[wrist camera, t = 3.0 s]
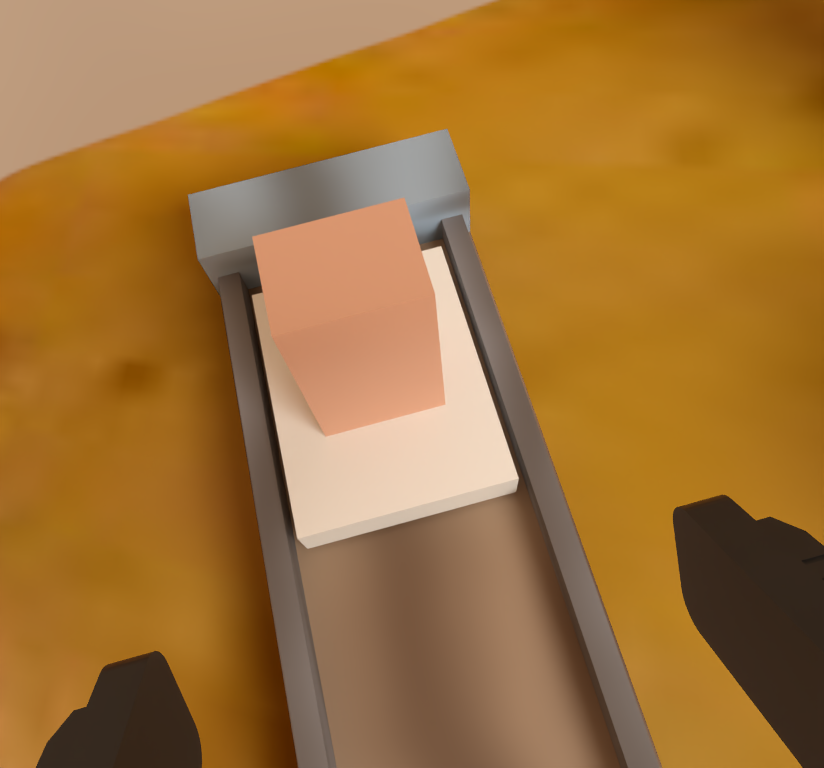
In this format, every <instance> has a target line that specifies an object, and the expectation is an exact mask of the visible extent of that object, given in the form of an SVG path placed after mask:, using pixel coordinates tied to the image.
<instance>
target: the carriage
mask: <svg viewBox="0 0 824 768" xmlns="http://www.w3.org/2000/svg"><path fill="white" fill-rule="evenodd" d="M252 239H253V244H254V249H255V254H256V259H257V264H258V270H259V275H260V280H261V285H262V290H263V293H259V294H255V295H252V299H253V304H254V310H255V315H256V321H257V326H258V331H259V337H260V342H261V347H262V353H263V358H264V363H265V369H266V374H267V379H268V385H269V390H270V395H271V401H272V406H273V411H274V417H275V422H276V428H277V433H278V438H279V444H280V449H281V454H282V460H283V465H284V470H285V476H286V481H287V486H288V492H289V497H290V502H291V508H292V513H293V518H294V524H295V529H296V535H297V539H298V540H299V541H300V542H301V543H302V544H303V545H304V546H305V547H306V548H307V549H309V548H313V547H317V546H320V545H324V544H328V543H331V542H335V541H339V540H342V539H346V538H350V537H353V536H357V535H361V534H364V533H368V532H372V531H375V530H379V529H383V528H386V527H390V526H394V525H397V524H401V523H405V522H408V521H412V520H416V519H419V518H423V517H427V516H430V515H434V514H438V513H441V512H445V511H449V510H452V509H456V508H459V507H463V506H467V505H470V504H474V503H478V502H481V501H485V500H489V499H492V498H496V497H500V496H503V495H507V494H511V493H514V492H516V490H517V485H518V480H519V478H518V475H517V472H516V469H515V466H514V463H513V460H512V457H511V454H510V451H509V448H508V445H507V442H506V439H505V436H504V433H503V430H502V427H501V424H500V421H499V418H498V415H497V412H496V409H495V406H494V403H493V400H492V397H491V394H490V391H489V388H488V385H487V382H486V379H485V376H484V373H483V370H482V367H481V364H480V361H479V358H478V355H477V352H476V349H475V346H474V343H473V340H472V337H471V334H470V331H469V328H468V325H467V322H466V319H465V316H464V313H463V310H462V307H461V304H460V301H459V298H458V295H457V292H456V289H455V286H454V283H453V280H452V277H451V274H450V271H449V268H448V265H447V262H446V259H445V256H444V253H443V250H442V247H441V246H440V247H436V248H432V249H428V250H424V251H421V248H420V245H419V242H418V239H417V235H416V232H415V229H414V226H413V223H412V220H411V217H410V213H409V210H408V207H407V204H406V201H405V198H400V199H396V200H393V201H389V202H385V203H381V204H377V205H373V206H369V207H365V208H361V209H358V210H354V211H350V212H346V213H342V214H338V215H334V216H330V217H327V218H323V219H319V220H315V221H311V222H307V223H303V224H299V225H295V226H292V227H288V228H284V229H280V230H276V231H272V232H268V233H264V234H261V235H257V236H253V237H252Z"/></svg>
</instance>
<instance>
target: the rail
mask: <svg viewBox="0 0 824 768" xmlns="http://www.w3.org/2000/svg"><path fill="white" fill-rule="evenodd" d="M400 198H405V201H406V204H407V207H408V210H409V213H410V217H411V220H412V223H413V226H414V229H415V232H416V235H417V239H418V242H419V245H420V248H421V251H424V250H428V249H432V248H436V247H440V246H441V247H442V250H443V253H444V256H445V259H446V262H447V265H448V268H449V271H450V274H451V277H452V280H453V283H454V286H455V289H456V292H457V295H458V298H459V301H460V304H461V307H462V310H463V313H464V316H465V319H466V322H467V325H468V328H469V331H470V334H471V337H472V340H473V343H474V346H475V349H476V352H477V355H478V358H479V361H480V364H481V367H482V370H483V373H484V376H485V379H486V382H487V385H488V388H489V391H490V394H491V397H492V400H493V403H494V406H495V409H496V412H497V415H498V418H499V421H500V424H501V427H502V430H503V433H504V436H505V439H506V442H507V445H508V448H509V451H510V454H511V457H512V460H513V463H514V466H515V469H516V472H517V475H518V478H519V480H518V485H517V490H516V492H514V493H511V494H507V495H503V496H500V497H496V498H492V499H489V500H485V501H481V502H478V503H474V504H470V505H467V506H463V507H459V508H456V509H452V510H449V511H445V512H441V513H438V514H434V515H430V516H427V517H423V518H419V519H416V520H412V521H408V522H405V523H401V524H397V525H394V526H390V527H386V528H383V529H379V530H375V531H372V532H368V533H364V534H361V535H357V536H353V537H350V538H346V539H342V540H339V541H335V542H331V543H328V544H324V545H320V546H317V547H313V548H309V549H307V548H306V547H305V546H304V545H303V544H302V543H301V542H300V541H299V540H298V539H297V535H296V529H295V524H294V518H293V513H292V508H291V502H290V497H289V492H288V486H287V481H286V476H285V470H284V465H283V460H282V454H281V449H280V444H279V438H278V433H277V428H276V422H275V417H274V411H273V406H272V401H271V395H270V390H269V385H268V379H267V374H266V369H265V363H264V358H263V353H262V347H261V342H260V337H259V331H258V326H257V321H256V315H255V310H254V304H253V299H252V295H255V294H259V293H263V290H262V285H261V280H260V275H259V270H258V264H257V259H256V254H255V249H254V244H253V239H252V237H253V236H257V235H261V234H264V233H268V232H272V231H276V230H280V229H284V228H288V227H292V226H295V225H299V224H303V223H307V222H311V221H315V220H319V219H323V218H327V217H330V216H334V215H338V214H342V213H346V212H350V211H354V210H358V209H361V208H365V207H369V206H373V205H377V204H381V203H385V202H389V201H393V200H396V199H400ZM188 199H189V205H190V212H191V218H192V225H193V232H194V238H195V245H196V251H197V258H198V261H199V262H200V264H201V266H202V267H203V269H204V271H205V272H206V274H207V275H208V277H209V279H210V280H211V282H212V284H213V285H214V287H215V288H216V290H217V292H218V293H219V295H220V297H221V303H222V309H223V315H224V321H225V327H226V334H227V340H228V346H229V352H230V358H231V364H232V370H233V376H234V382H235V388H236V394H237V400H238V407H239V413H240V419H241V425H242V431H243V437H244V443H245V449H246V455H247V461H248V467H249V473H250V479H251V486H252V492H253V498H254V504H255V510H256V516H257V522H258V528H259V534H260V540H261V546H262V552H263V558H264V565H265V571H266V577H267V583H268V589H269V595H270V601H271V607H272V613H273V619H274V625H275V631H276V638H277V644H278V650H279V656H280V662H281V668H282V674H283V680H284V686H285V692H286V698H287V704H288V710H289V717H290V723H291V729H292V735H293V741H294V747H295V753H296V759H297V765H298V768H662V766H661V763H660V760H659V758H658V755H657V752H656V749H655V746H654V744H653V741H652V738H651V735H650V732H649V730H648V727H647V724H646V721H645V718H644V716H643V713H642V710H641V707H640V705H639V702H638V699H637V696H636V693H635V691H634V688H633V685H632V682H631V679H630V677H629V674H628V671H627V668H626V665H625V663H624V660H623V657H622V654H621V652H620V649H619V646H618V643H617V640H616V638H615V635H614V632H613V629H612V626H611V624H610V621H609V618H608V615H607V612H606V610H605V607H604V604H603V601H602V599H601V596H600V593H599V590H598V587H597V585H596V582H595V579H594V576H593V573H592V571H591V568H590V565H589V562H588V559H587V557H586V554H585V551H584V548H583V546H582V543H581V540H580V537H579V534H578V532H577V529H576V526H575V523H574V520H573V518H572V515H571V512H570V509H569V506H568V504H567V501H566V498H565V495H564V493H563V490H562V487H561V484H560V481H559V479H558V476H557V473H556V470H555V467H554V465H553V462H552V459H551V456H550V453H549V451H548V448H547V445H546V442H545V440H544V437H543V434H542V431H541V428H540V426H539V423H538V420H537V417H536V414H535V412H534V409H533V406H532V403H531V400H530V398H529V395H528V392H527V389H526V386H525V384H524V381H523V378H522V375H521V373H520V370H519V367H518V364H517V361H516V359H515V356H514V353H513V350H512V347H511V345H510V342H509V339H508V336H507V333H506V331H505V328H504V325H503V322H502V320H501V317H500V314H499V311H498V308H497V306H496V303H495V300H494V297H493V294H492V292H491V289H490V286H489V283H488V280H487V278H486V275H485V272H484V269H483V267H482V264H481V261H480V258H479V255H478V253H477V250H476V247H475V244H474V241H473V239H472V236H471V233H470V189H469V187H468V184H467V181H466V178H465V176H464V173H463V170H462V168H461V165H460V162H459V159H458V157H457V154H456V151H455V149H454V146H453V143H452V141H451V138H450V135H449V132H448V130H447V129H445V130H441V131H437V132H433V133H429V134H425V135H421V136H417V137H413V138H409V139H405V140H401V141H397V142H394V143H390V144H386V145H382V146H378V147H374V148H370V149H366V150H362V151H358V152H354V153H350V154H346V155H343V156H339V157H335V158H331V159H327V160H323V161H319V162H315V163H311V164H307V165H303V166H299V167H295V168H292V169H288V170H284V171H280V172H276V173H272V174H268V175H264V176H260V177H256V178H252V179H248V180H244V181H241V182H237V183H233V184H229V185H225V186H221V187H217V188H213V189H209V190H205V191H201V192H197V193H193V194H189V195H188Z"/></svg>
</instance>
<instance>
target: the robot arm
mask: <svg viewBox="0 0 824 768" xmlns="http://www.w3.org/2000/svg"><path fill="white" fill-rule="evenodd" d="M673 524H674V532H675V540H676V548H677V556H678V564H679V572H680V580H681V587H682V593H683V597H684V601H685V604H686V607H687V609H688V612H689V614H690V616H691V619H692V621H693V623H694V624H695V626H696V628H697V629H698V631H699V632H700V634H701V635H702V636H703V638H704V639H705V640H706V642H707V643H708V644H709V645H710V647H711V648H712V649H713V651H714V652H715V653H716V655H717V656H718V657H719V658H720V660H721V661H722V662H723V664H724V665H725V666H726V668H727V669H728V670H729V672H730V673H731V674H732V675H733V677H734V678H735V679H736V681H737V682H738V683H739V685H740V686H741V687H742V689H743V690H744V691H745V692H746V694H747V695H748V696H749V698H750V699H751V700H752V702H753V703H754V704H755V706H756V707H757V708H758V709H759V711H760V712H761V713H762V715H763V716H764V717H765V719H766V720H767V721H768V723H769V724H770V725H771V726H772V728H773V729H774V730H775V732H776V733H777V734H778V736H779V737H780V738H781V740H782V741H783V742H784V743H785V745H786V746H787V747H788V749H789V750H790V751H791V753H792V754H793V755H794V757H795V758H796V759H797V760H798V762H799V763H800V764H801V766H802V767H803V768H824V546H823V545H822V544H821V543H819V542H818V541H817V540H816V539H815V538H813V537H812V536H811V535H810V534H808V533H807V532H806V531H804V530H802V529H799V528H797V527H794V526H792V525H789V524H787V523H784V522H782V521H779V520H777V519H774V518H772V517H767V518H764V519H760V520H757V521H756V520H754V519H753V518H752V517H751V516H750V515H749V514H748V513H747V512H745V511H744V510H743V509H742V508H741V507H740V506H739V505H737V504H736V503H735V502H734V501H733V500H732V499H731V498H729V497H728V496H726V495H719V496H716V497H712V498H709V499H705V500H702V501H698V502H694V503H691V504H687V505H684V506H680V507H676V508H675V510H674V512H673ZM36 768H202V753H201V744H200V738H199V734H198V731H197V728H196V725H195V723H194V721H193V718H192V716H191V714H190V712H189V709H188V707H187V705H186V703H185V701H184V698H183V696H182V694H181V692H180V689H179V687H178V685H177V683H176V681H175V678H174V676H173V674H172V672H171V670H170V667H169V665H168V663H167V661H166V659H165V658H164V656H163V655H162V654H161V653H160V652H158V651H154V652H151V653H147V654H144V655H140V656H136V657H133V658H129V659H126V660H122V661H119V662H115V663H111V664H108V665H106V666H105V667H104V668H103V669H102V671H101V673H100V675H99V677H98V680H97V682H96V685H95V687H94V690H93V692H92V695H91V697H90V699H89V702H88V704H87V707H84V708H81V709H77V710H74V711H73V712H72V713H71V714H70V716H69V717H68V718H67V719H66V721H65V722H64V723H63V724H62V725H61V727H60V728H59V729H58V730H57V731H56V733H55V734H54V735H53V736H52V737H51V739H50V740H49V741H48V742H47V744H46V746H45V748H44V751H43V753H42V755H41V757H40V760H39V762H38V764H37V766H36Z"/></svg>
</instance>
